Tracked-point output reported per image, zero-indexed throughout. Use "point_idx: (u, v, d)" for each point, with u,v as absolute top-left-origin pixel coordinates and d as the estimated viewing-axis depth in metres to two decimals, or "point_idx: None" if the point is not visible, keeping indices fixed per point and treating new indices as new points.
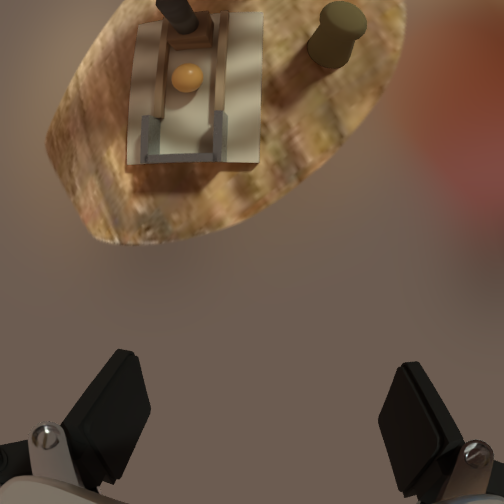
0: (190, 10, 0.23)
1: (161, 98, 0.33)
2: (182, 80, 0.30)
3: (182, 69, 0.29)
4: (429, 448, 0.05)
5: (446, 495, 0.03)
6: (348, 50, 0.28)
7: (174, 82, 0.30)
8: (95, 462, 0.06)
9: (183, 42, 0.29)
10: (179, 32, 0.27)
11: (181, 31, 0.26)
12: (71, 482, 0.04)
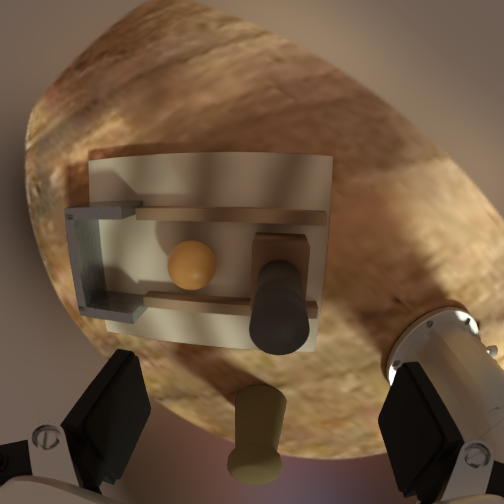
0: None
1: (164, 220, 0.23)
2: (173, 270, 0.22)
3: (190, 272, 0.22)
4: (429, 448, 0.05)
5: (446, 495, 0.03)
6: None
7: (175, 254, 0.22)
8: (95, 462, 0.06)
9: None
10: (260, 272, 0.20)
11: None
12: (71, 482, 0.04)
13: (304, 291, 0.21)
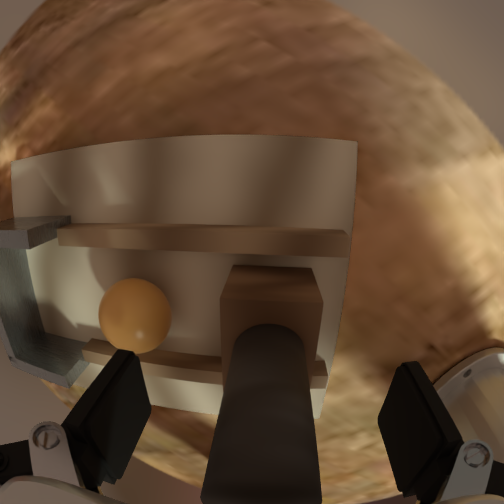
0: None
1: (94, 246, 0.14)
2: (104, 328, 0.13)
3: (127, 334, 0.12)
4: (428, 448, 0.05)
5: (445, 495, 0.04)
6: None
7: (105, 303, 0.13)
8: (96, 462, 0.06)
9: None
10: (235, 345, 0.11)
11: None
12: (72, 482, 0.04)
13: (310, 369, 0.12)
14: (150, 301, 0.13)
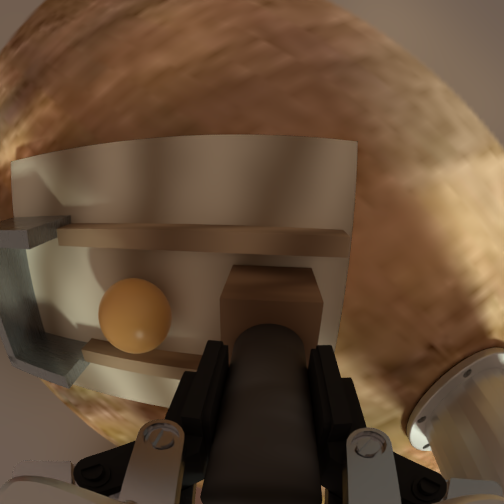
0: None
1: (93, 246, 0.14)
2: (104, 328, 0.13)
3: (127, 334, 0.12)
4: (320, 428, 0.07)
5: (352, 495, 0.04)
6: None
7: (105, 303, 0.13)
8: (204, 454, 0.07)
9: None
10: (235, 345, 0.11)
11: None
12: (168, 490, 0.04)
13: None
14: (150, 301, 0.13)
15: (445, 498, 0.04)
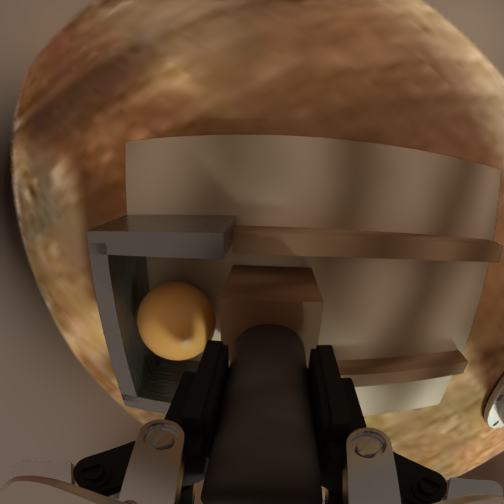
0: None
1: (288, 254, 0.14)
2: None
3: None
4: (320, 428, 0.07)
5: (352, 496, 0.04)
6: None
7: (205, 296, 0.14)
8: (204, 454, 0.07)
9: None
10: (235, 345, 0.11)
11: None
12: (168, 490, 0.04)
13: None
14: None
15: (445, 498, 0.04)
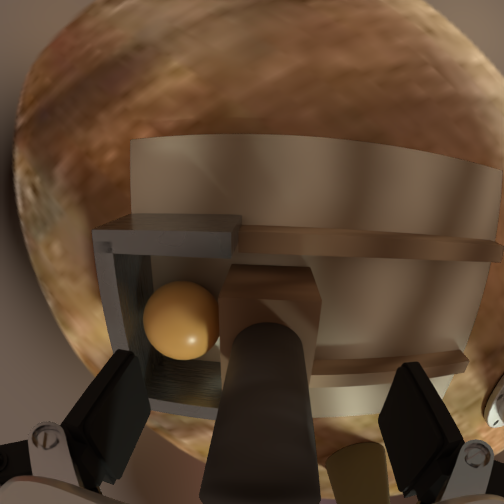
0: None
1: (294, 253, 0.14)
2: None
3: None
4: (429, 448, 0.05)
5: (446, 495, 0.04)
6: None
7: (212, 295, 0.14)
8: (95, 462, 0.06)
9: None
10: (234, 344, 0.11)
11: None
12: (71, 482, 0.04)
13: (309, 368, 0.12)
14: None
15: None
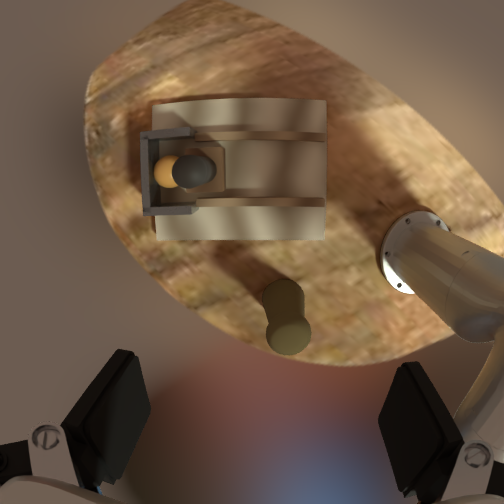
0: None
1: (216, 140, 0.33)
2: None
3: None
4: (429, 448, 0.05)
5: (446, 495, 0.03)
6: None
7: None
8: (95, 462, 0.06)
9: None
10: None
11: None
12: (71, 482, 0.04)
13: (220, 176, 0.31)
14: None
15: None
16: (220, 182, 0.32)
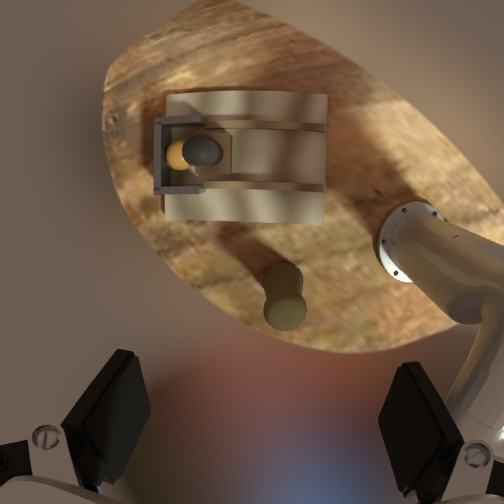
0: None
1: (224, 128, 0.35)
2: None
3: None
4: (429, 448, 0.05)
5: (446, 495, 0.04)
6: None
7: None
8: (95, 462, 0.06)
9: None
10: None
11: None
12: (71, 482, 0.04)
13: (226, 160, 0.34)
14: None
15: None
16: (226, 165, 0.34)
